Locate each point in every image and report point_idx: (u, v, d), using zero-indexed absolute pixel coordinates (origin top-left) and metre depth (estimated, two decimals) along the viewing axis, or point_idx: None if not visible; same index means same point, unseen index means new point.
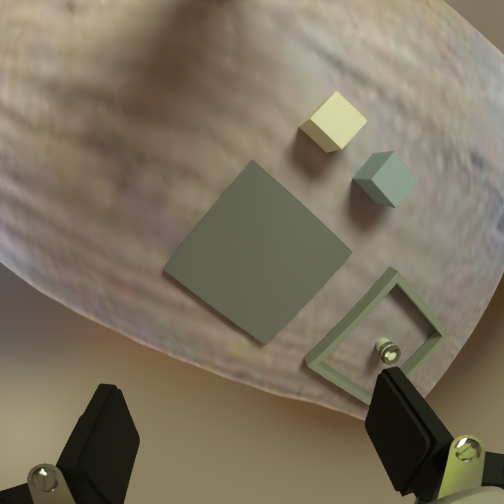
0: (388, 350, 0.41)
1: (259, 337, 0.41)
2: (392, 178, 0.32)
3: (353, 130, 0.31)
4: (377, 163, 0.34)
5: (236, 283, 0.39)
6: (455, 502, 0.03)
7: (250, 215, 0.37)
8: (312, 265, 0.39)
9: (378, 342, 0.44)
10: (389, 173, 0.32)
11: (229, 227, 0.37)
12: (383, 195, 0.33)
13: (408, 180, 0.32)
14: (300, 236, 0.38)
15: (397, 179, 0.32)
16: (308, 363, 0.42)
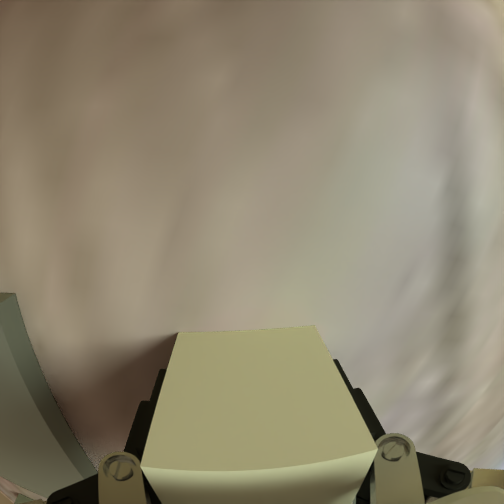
0: None
1: None
2: None
3: None
4: None
5: None
6: (455, 502, 0.03)
7: None
8: (47, 485, 0.12)
9: None
10: None
11: None
12: None
13: None
14: (39, 461, 0.11)
15: None
16: None
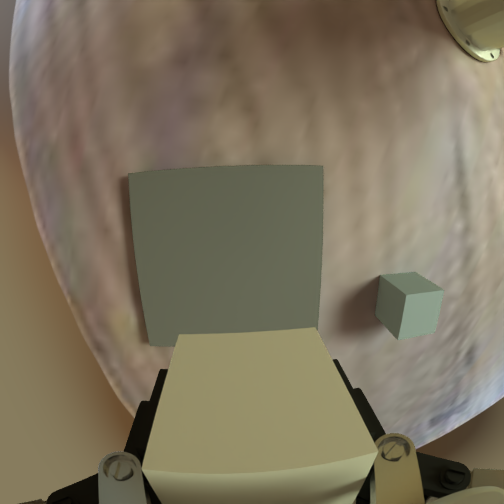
0: None
1: (151, 334, 0.29)
2: (420, 311, 0.26)
3: None
4: (418, 285, 0.27)
5: (181, 262, 0.28)
6: (455, 502, 0.03)
7: (266, 212, 0.27)
8: (270, 317, 0.29)
9: None
10: (423, 305, 0.25)
11: (234, 202, 0.26)
12: (398, 318, 0.26)
13: (429, 325, 0.26)
14: (288, 280, 0.29)
15: (422, 316, 0.26)
16: None
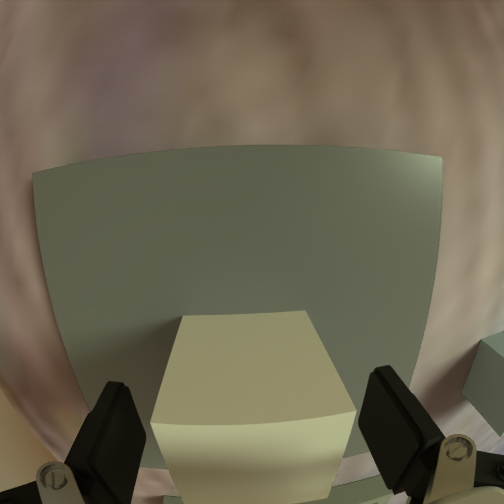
0: None
1: None
2: None
3: (262, 502, 0.07)
4: None
5: (149, 359, 0.12)
6: (455, 502, 0.03)
7: (335, 256, 0.11)
8: None
9: None
10: None
11: (263, 234, 0.11)
12: None
13: None
14: (363, 380, 0.13)
15: None
16: None
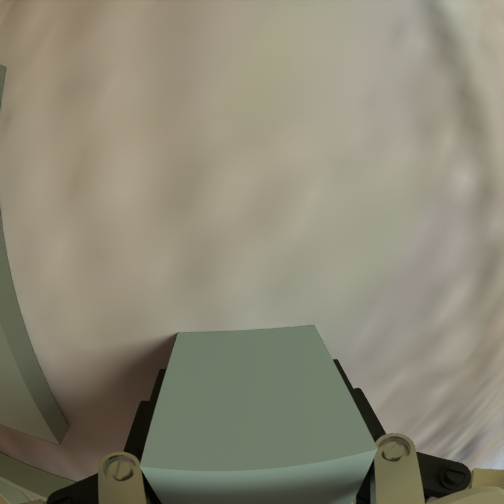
0: None
1: None
2: None
3: None
4: (264, 406, 0.07)
5: None
6: (455, 502, 0.03)
7: None
8: None
9: None
10: (257, 497, 0.05)
11: None
12: None
13: None
14: None
15: None
16: None
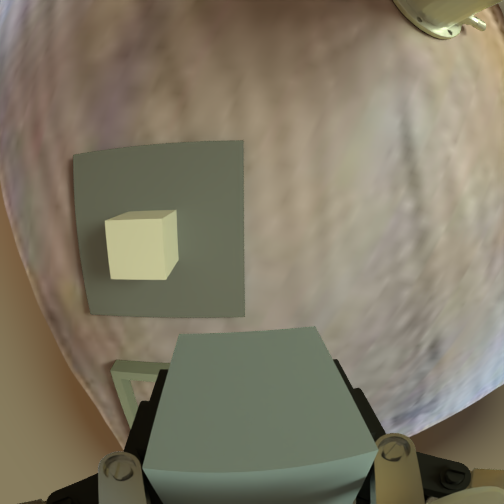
0: None
1: (91, 302, 0.30)
2: None
3: (138, 274, 0.23)
4: (265, 408, 0.07)
5: None
6: (455, 502, 0.03)
7: (187, 186, 0.27)
8: (196, 290, 0.30)
9: None
10: (259, 498, 0.05)
11: (158, 177, 0.27)
12: None
13: None
14: (211, 253, 0.29)
15: None
16: (114, 369, 0.32)
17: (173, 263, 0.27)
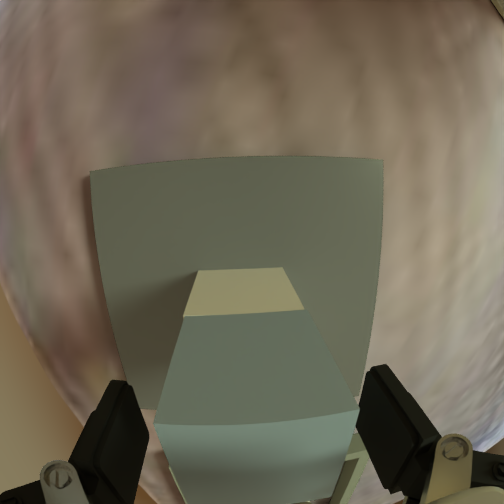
0: None
1: (136, 395, 0.20)
2: (251, 468, 0.07)
3: None
4: (261, 374, 0.08)
5: (172, 305, 0.18)
6: (455, 502, 0.03)
7: (301, 229, 0.17)
8: None
9: None
10: (255, 455, 0.06)
11: (252, 214, 0.17)
12: None
13: (303, 490, 0.07)
14: (330, 326, 0.19)
15: (266, 476, 0.07)
16: None
17: None
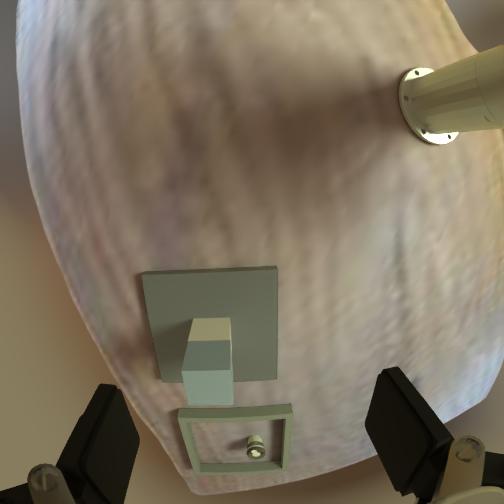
0: (256, 449, 0.44)
1: (163, 375, 0.42)
2: (205, 385, 0.28)
3: None
4: (209, 359, 0.30)
5: (182, 332, 0.40)
6: (455, 502, 0.03)
7: (237, 302, 0.39)
8: (243, 365, 0.42)
9: (253, 437, 0.47)
10: (206, 380, 0.28)
11: (215, 296, 0.39)
12: None
13: (222, 398, 0.29)
14: (255, 343, 0.41)
15: (210, 389, 0.29)
16: (180, 416, 0.43)
17: None
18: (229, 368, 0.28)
